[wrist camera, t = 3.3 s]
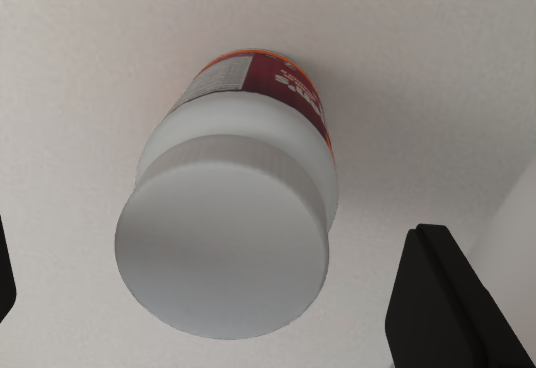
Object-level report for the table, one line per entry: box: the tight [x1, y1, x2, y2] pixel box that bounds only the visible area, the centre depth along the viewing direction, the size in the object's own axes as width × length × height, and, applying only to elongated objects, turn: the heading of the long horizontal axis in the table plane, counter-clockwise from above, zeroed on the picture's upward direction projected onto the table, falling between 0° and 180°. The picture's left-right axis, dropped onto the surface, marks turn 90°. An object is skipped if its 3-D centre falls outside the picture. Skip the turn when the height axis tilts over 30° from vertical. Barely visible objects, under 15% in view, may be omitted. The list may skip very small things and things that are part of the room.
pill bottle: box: [115, 49, 339, 340], centre depth 16 cm, size 6×6×11 cm
